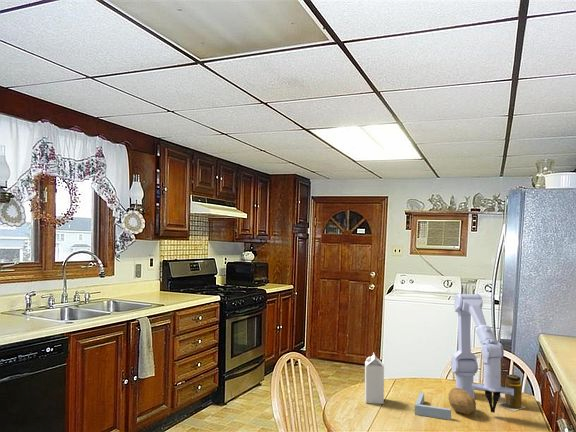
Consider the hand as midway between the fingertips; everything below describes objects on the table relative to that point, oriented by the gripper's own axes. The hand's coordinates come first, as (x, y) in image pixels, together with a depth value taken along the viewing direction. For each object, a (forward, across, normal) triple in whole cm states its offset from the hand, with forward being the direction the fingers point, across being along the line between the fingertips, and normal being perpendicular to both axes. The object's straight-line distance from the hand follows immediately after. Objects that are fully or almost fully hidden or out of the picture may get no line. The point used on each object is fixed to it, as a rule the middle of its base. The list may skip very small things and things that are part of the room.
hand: (492, 411), depth 176 cm
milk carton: (+2, -45, -2) cm, 45 cm away
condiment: (+2, +7, +15) cm, 17 cm away
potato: (+2, -11, 0) cm, 11 cm away
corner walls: (+2, -21, -3) cm, 21 cm away
